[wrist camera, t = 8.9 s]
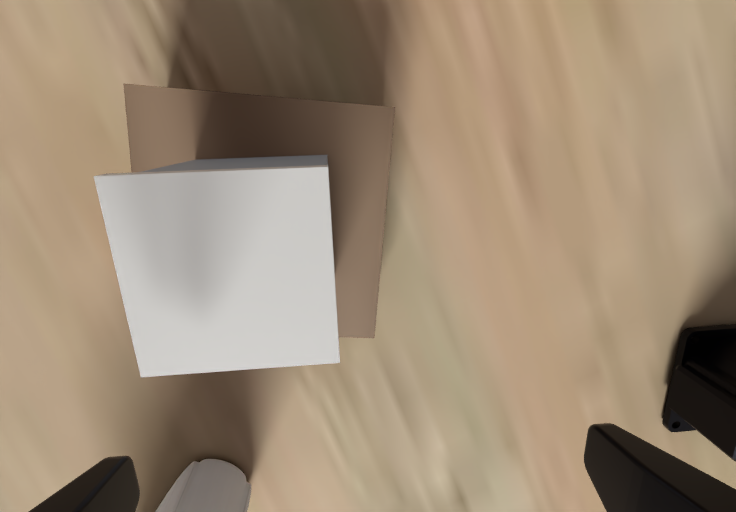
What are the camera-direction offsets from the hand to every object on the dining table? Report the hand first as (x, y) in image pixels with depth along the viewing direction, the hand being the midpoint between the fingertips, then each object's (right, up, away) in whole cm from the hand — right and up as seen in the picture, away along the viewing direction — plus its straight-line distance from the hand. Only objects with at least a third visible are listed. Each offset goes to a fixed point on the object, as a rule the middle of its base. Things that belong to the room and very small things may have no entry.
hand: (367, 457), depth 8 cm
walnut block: (-4, +6, +11) cm, 13 cm away
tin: (-4, +5, +7) cm, 9 cm away
